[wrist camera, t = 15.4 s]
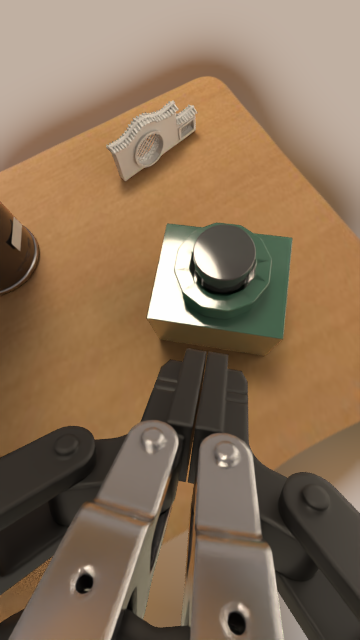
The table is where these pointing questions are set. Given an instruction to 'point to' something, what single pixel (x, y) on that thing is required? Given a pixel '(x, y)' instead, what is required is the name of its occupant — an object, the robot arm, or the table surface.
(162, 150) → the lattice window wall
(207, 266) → the dark push button
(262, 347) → the dispenser
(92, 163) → the table surface
